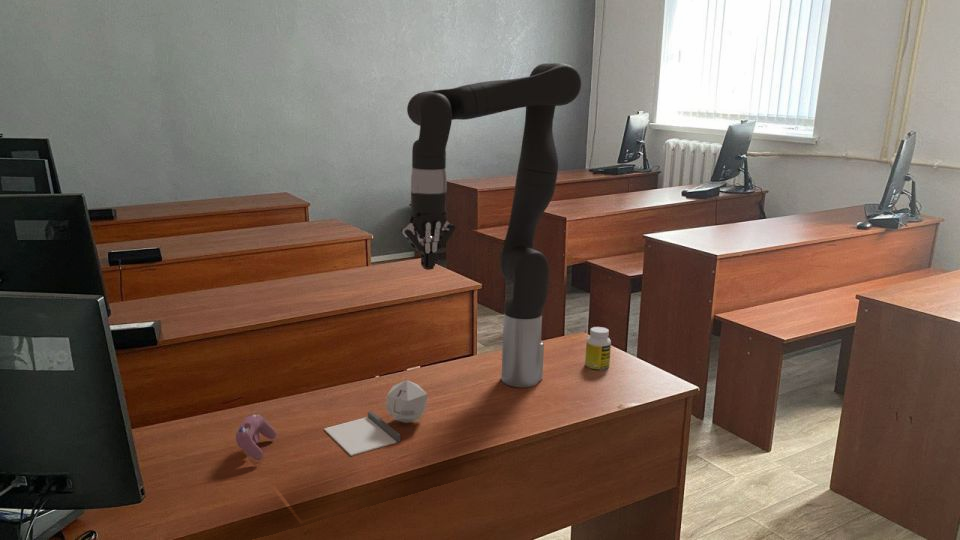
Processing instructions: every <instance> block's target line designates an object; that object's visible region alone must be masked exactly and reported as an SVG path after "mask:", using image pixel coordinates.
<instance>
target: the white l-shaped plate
mask: <svg viewBox="0 0 960 540" xmlns="http://www.w3.org/2000/svg"><path fill="white" fill-rule="evenodd" d="M323 430H324V431H325V433H327V434H328V435H329V436H330V437H331V438H332V439H333V440H334V441H335V442H336V443H337V444H338V445H339V446H340V447H341V448H342V449H343V450H344V451H345V452H346V453H347V454H348V455H349V456H350V457H352V456H356V455H359V454H363V453H366V452H370V451H374V450H376V449H379V448H384V447H387V446H390V445H394V444H397V443H400V442H401V434H400V433H398V431H396V430H395V428H393V427H391V426H390V425H389V424H388V423H386V422H385V421H384V420H383V419H382V418H381V417H379V416H378V415H377V414H376V413H375V412H373V410H369V411H368V412H367V416H366V417H362V418H358V419H354V420H350V421H348V422H347V421H346V422H344V423H339V424H336V425H333V426H329V427H325V428H323Z"/></svg>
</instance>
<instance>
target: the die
mask: <svg viewBox="0 0 960 540" xmlns="http://www.w3.org/2000/svg"><path fill="white" fill-rule="evenodd" d="M427 400H428V393H427V392H426V391H425V390H424V389H423V388H422V387H421V386H420V385H419V384H417V383H415V382H412V381H410V380H408V379H406V380H403V381H401V382H398V383H397V384H394V385H393V386H392V387H391V389H390V391H389V392H388V393H387V394H386V407H385V408H386V411H387V412H388V413H389V415H390V416H391V417H392V418H393V419H394V420H395V421H398V422H402V423H405V424H408V423H411V422H414V421H417V420H420V419H421V418H422V416H423V415H424V413H425V411H426V409H427V403H428V402H427Z"/></svg>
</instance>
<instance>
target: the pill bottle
mask: <svg viewBox="0 0 960 540" xmlns="http://www.w3.org/2000/svg"><path fill="white" fill-rule="evenodd" d="M589 333H590V335H589V336H588V337H587V338H586V346H585V358H584V359H585V361H584V366H585V368H586V369H589V370H593V371H605V370H608V369H609V368H610V361H611V360H610V359H611V348H612V340H611V339H610V337H609V336H610V335H609V333H610V331H609V329H608V328H607V327H603V326H602V327H601V326H593V327H591V328H590V331H589Z"/></svg>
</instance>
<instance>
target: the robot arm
mask: <svg viewBox="0 0 960 540" xmlns="http://www.w3.org/2000/svg"><path fill="white" fill-rule="evenodd" d="M581 87H582V80H581V76H580V73H579V72H578V70H577V69H576V68H575V67H573V66H572V65H569V64H568V63H567V64H566V63H561V62H559V63H557V62H554V63H549V62H548V63H541V64H538V65H537V66H535V67H534V68H533V69H532V71H531V72H530V73H529V75H528V76H526V77H525V76H524V77H519V78H510V79H509V78H508V79H499V80H489V81H487V80H486V81H481V82H476V83H471V84H470V83H469V84H466V85H461V86H458V87H454V88H445V89H443V88H442V89H437V90H436V89H435V90H427V91H422V92H418V93H415V94H414V96H412V97H411V98H410V100H409V101H408V102H407V103H408V104H407V108H406V110H407V116H408V117H409V119H410V120H411V121H412V123H414V124H415V125H416V126H418V127H420V128H419V134H418V135H419V136H418V138H417V140H415V141H414V142H413V145H412V158H411V159H412V160H411V161H412V162H411V165H412V167H411V175H410V211H411V217H410V219H409V224H408V225H407V226H406V227H403V228H401V229H400V233H401V235H402V236H403V238H404V239H405V240H406V241H407V243H408V244H409V245H410V247H411V249H413V250H415V251H419V252H420V265H421V267H422V268H423V270H426V271H429V270H434V267H435V266H436V258H437V256H436V254H437V251H439V249H444V248H445V245H446V244H447V242H448V241H449V239H450V237H451V236H452V234H453V233H454V231H455V230H456V225H455V224H452V223H450V222H449V221H448V220H447V219H448V218H447V216H446V211H447V186H448V185H447V183H448V182H447V181H448V180H447V172H446V171H447V170H446V167H447V165H446V164H447V162H446V161H447V154H446V153H447V151H446V149H447V144H448V141H449V138H450V137H449V136H450V132H451V126H452V123H453V121H454V120H455V121H456V120H459V121H460V120H463V121H464V120H465V121H466V120H471V119H477V118H480V117H486V116H491V115H494V114H499V113H502V112H507V111H511V110H517V109H522V108H525V120H524V127H523V135H522V141H521V148H520V156H519V161H518V166H517V172H516V179H515V183H514V184H515V185H514V194H513V200H512V204H511V205H512V206H511V210H510V217H509V223H508V228H507V232H506V236H505V238H504V243H503V247H502V250H501V253H500V254H501V255H500V259H499V271H500V274H501V275H502V277H503V278H504V279H505V280H507V281H508V282H510V283H512V284H513V293H512V297H510V298H507V299H506V300H505V301H504V304H503V319H502V320H503V323H502V324H503V326H502V349H501V350H502V351H501V354H502V355H501V357H502V358H501V378H500V379H501V382H502V383H504V384H505V385H507V386H510V387H515V388H531V387H533V386H536V385H537V384H538V383H539V382H541V381H543V375H544V374H543V373H544V372H543V370H544V355H545V354H544V351H545V350H544V349H545V344H544V343H543V342H542V329H543V328H542V327H543V326H542V324H543V309H544V306H545V305H546V302H547V299H548V298H547V297H548V287H549V276H550V266H549V261H548V259H547V257H546V256H545V255H544V253H542V252H541V251H538V250H536V249H534V248H533V247H534V246H533V245H534V238H535V233H536V229H537V224H538V223H539V221H540V219H541V217H542V215H543V214H544V212H545V210H547V208H548V206H549V205H550V203H551V201H552V199H553V196H554V194H555V190H556V184H557V179H558V172H559V158H558V152H557V148H556V145H555V140H554V134H553V127H554V126H553V125H554V124H553V122H554V118H555V117H554V116H555V111H556V107H557V106H558V107H559V106H560V107H561V106H566V105H568V104H570V103H572V102H573V101H574V100H575V99H576V98H577V97H578V95H579V94H580V91H581ZM415 233H416V234H417V236H415V235H416V234H415Z"/></svg>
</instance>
